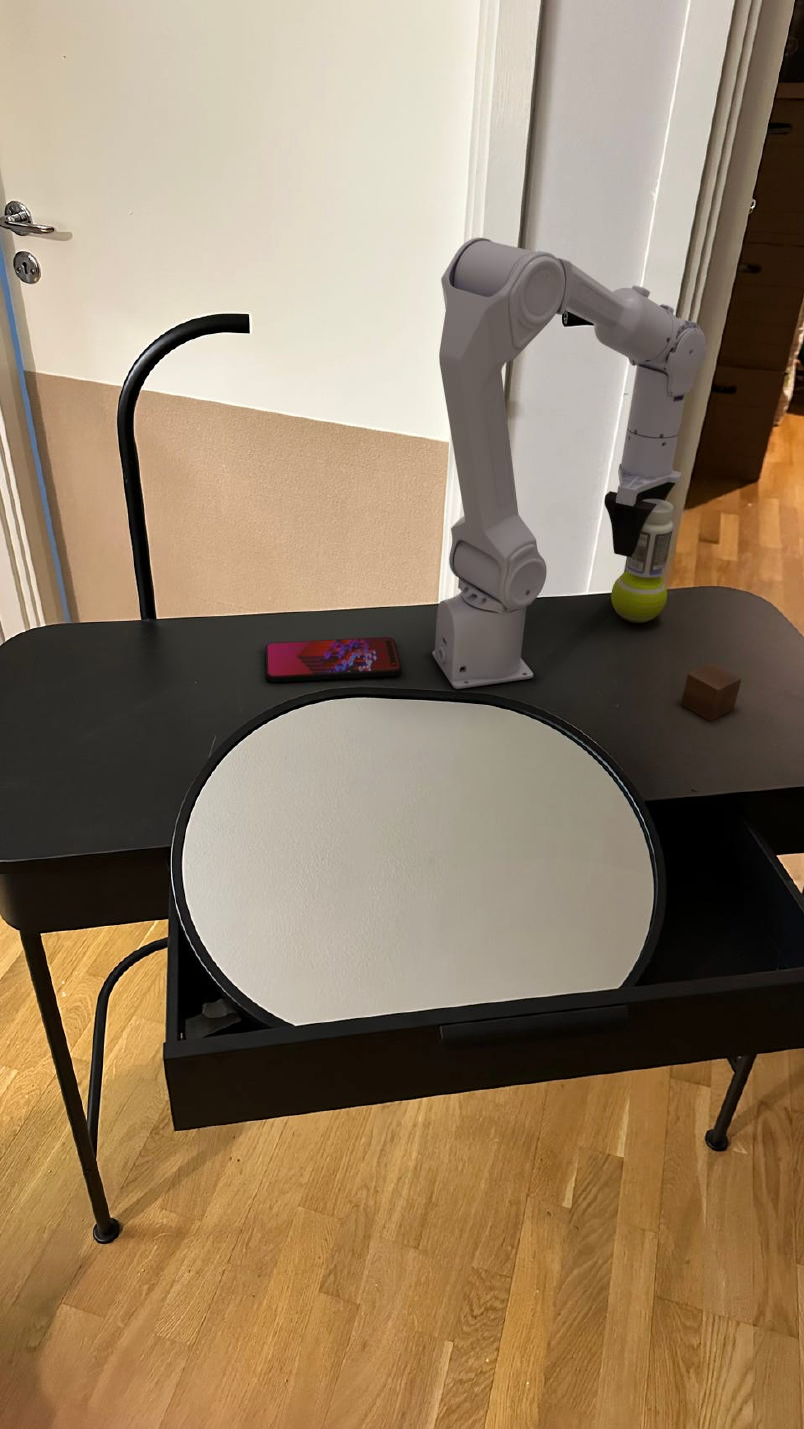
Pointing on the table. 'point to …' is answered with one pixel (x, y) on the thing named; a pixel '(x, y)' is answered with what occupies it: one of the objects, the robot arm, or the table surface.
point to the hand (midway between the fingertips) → (632, 543)
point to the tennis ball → (638, 597)
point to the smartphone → (332, 659)
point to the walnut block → (711, 691)
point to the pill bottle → (653, 542)
